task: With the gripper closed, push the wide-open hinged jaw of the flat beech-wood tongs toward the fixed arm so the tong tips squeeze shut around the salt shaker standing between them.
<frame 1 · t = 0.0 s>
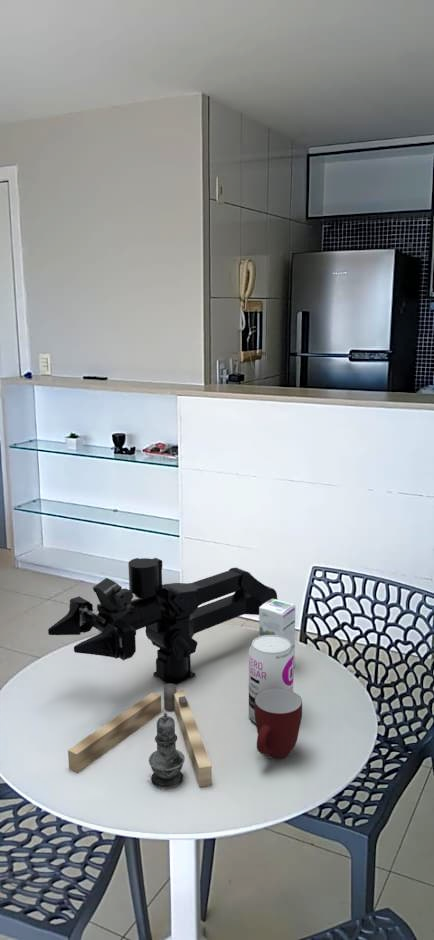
hand: (61, 640, 132), 17 cm above the table, tool horizontal, fingers open, 9 cm apart
syrup box: (276, 669, 155), on the table
tongs jaw: (117, 729, 130), point 2 cm above the table, hinge at 48.0°
tongs fixed arm: (170, 708, 140), on the table
supplement can: (270, 718, 137), on the table
salt shaker: (167, 779, 120), on the table
mug: (275, 757, 125), on the table
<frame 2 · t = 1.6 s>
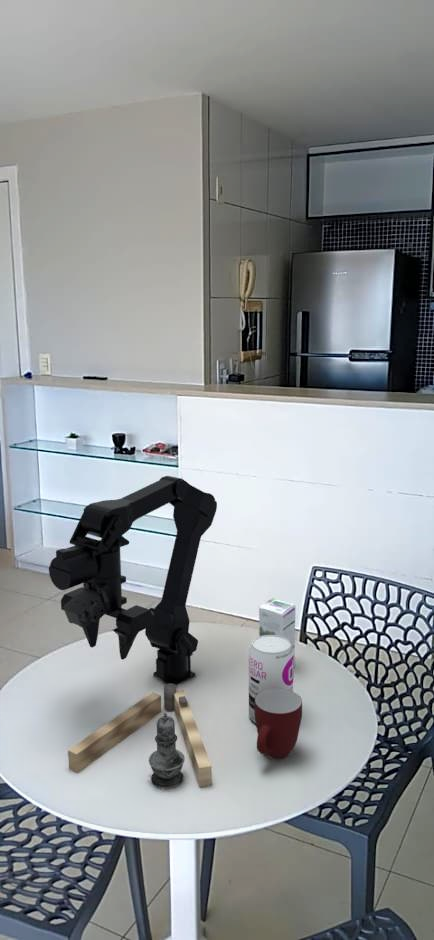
hand: (108, 652, 135), 13 cm above the table, tool pointing down, fingers open, 8 cm apart
nothing on the table moved.
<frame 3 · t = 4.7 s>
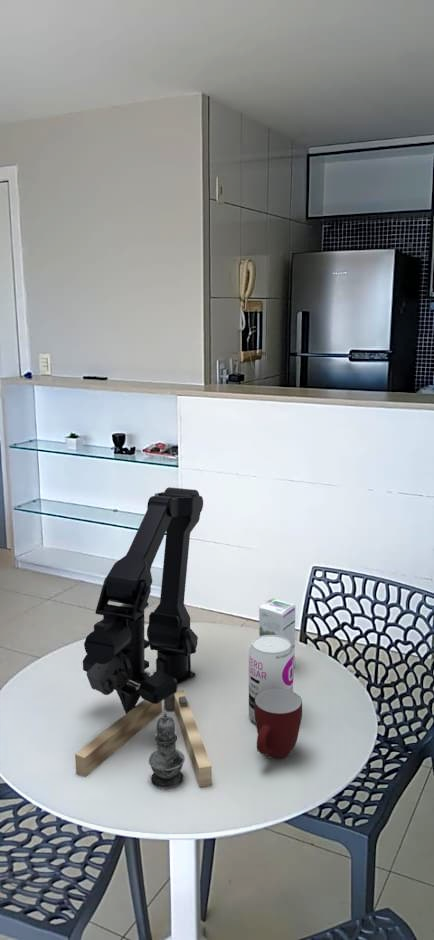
hand: (129, 715, 135), 2 cm above the table, tool pointing down, fingers closed
tongs jaw: (121, 731, 130), point 2 cm above the table, hinge at 43.8°, touching gripper
everything else where it was.
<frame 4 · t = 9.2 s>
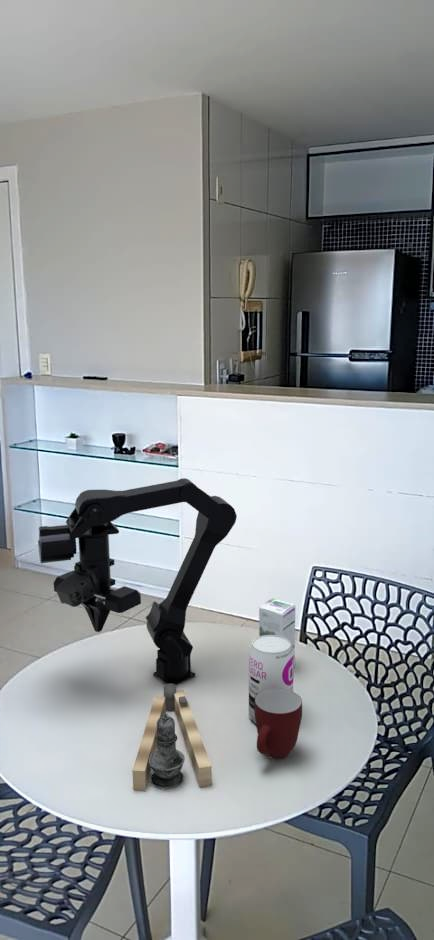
hand: (98, 631, 144), 12 cm above the table, tool pointing down, fingers closed
tongs jaw: (150, 739, 127), point 2 cm above the table, hinge at 17.8°
everything else where it was.
at the end: tongs jaw at +18° (first picture: +48°); salt shaker tilted 0°; salt shaker moved 0.2 cm from its start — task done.
